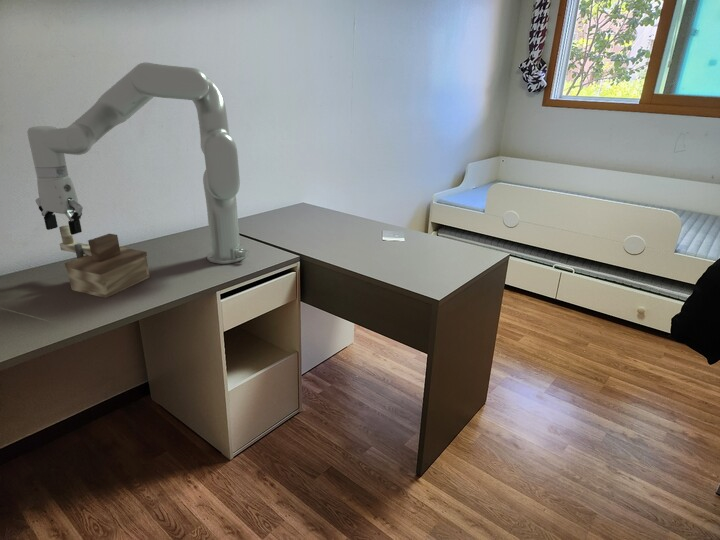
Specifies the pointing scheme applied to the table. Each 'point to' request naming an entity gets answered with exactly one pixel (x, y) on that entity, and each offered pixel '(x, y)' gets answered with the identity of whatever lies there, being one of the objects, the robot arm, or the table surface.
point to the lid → (105, 256)
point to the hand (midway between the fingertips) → (64, 230)
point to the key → (71, 242)
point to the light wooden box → (107, 277)
